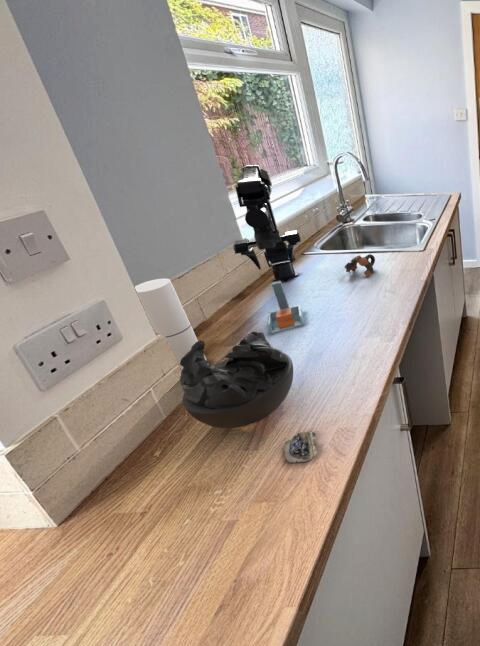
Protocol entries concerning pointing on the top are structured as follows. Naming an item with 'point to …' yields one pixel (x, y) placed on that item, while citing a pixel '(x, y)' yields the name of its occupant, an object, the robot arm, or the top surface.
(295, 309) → the pale blue channel tray
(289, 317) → the block
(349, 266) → the toy animal figurine
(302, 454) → the geode slice
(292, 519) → the top surface
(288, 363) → the bowl of black rocks
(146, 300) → the cylindrical container
